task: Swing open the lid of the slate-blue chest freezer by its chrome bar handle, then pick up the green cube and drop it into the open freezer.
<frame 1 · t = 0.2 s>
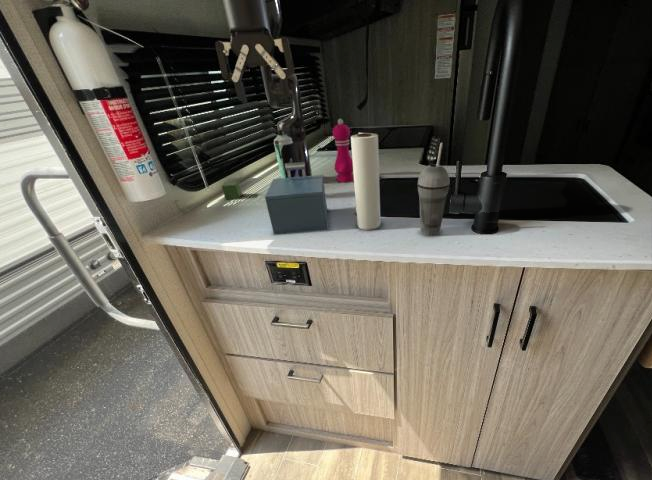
hand: (265, 102, 68), 29 cm above the worktop, tool pointing down, fingers open, 8 cm apart
beverage cup: (430, 232, 78), on the worktop
freezer: (302, 221, 88), on the worktop
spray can: (294, 198, 105), on the worktop
freezer lid: (294, 178, 82), point 11 cm above the worktop, hinge at 0.0°
pepper mill: (345, 180, 119), on the worktop
paper towel roll: (369, 225, 83), on the worktop
green cube: (234, 197, 109), on the worktop
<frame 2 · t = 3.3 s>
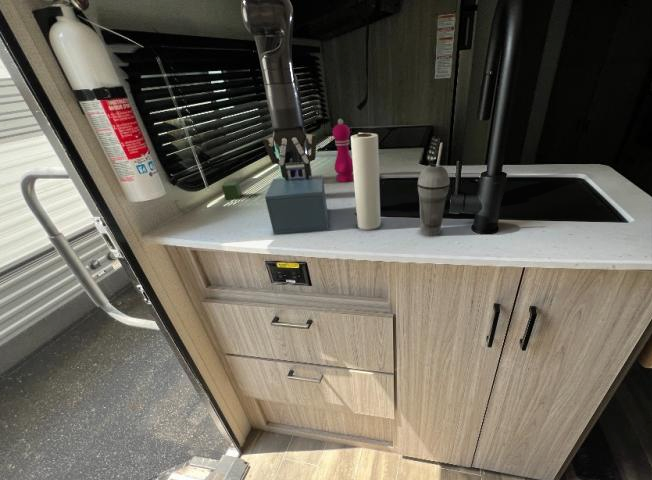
hand: (297, 178, 87), 10 cm above the worktop, tool pointing down, fingers closed on freezer lid, 5 cm apart
freezer lid: (294, 178, 82), point 11 cm above the worktop, hinge at 0.0°, touching gripper
everything else where it was.
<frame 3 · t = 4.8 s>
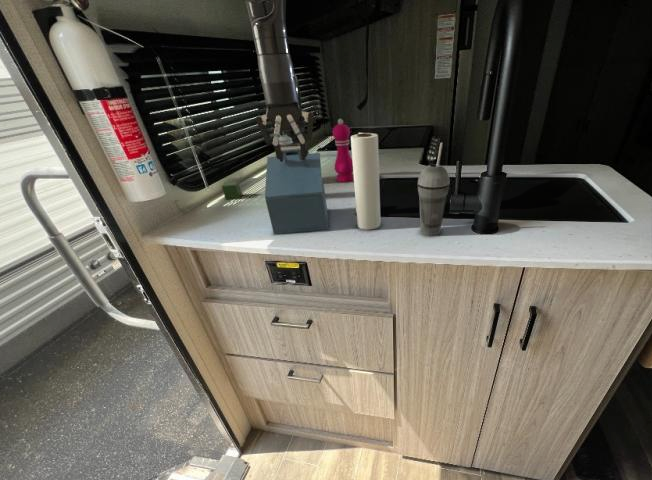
hand: (292, 159, 82), 15 cm above the worktop, tool pointing down, fingers closed on freezer lid, 5 cm apart
freezer lid: (292, 167, 79), point 14 cm above the worktop, hinge at 22.7°, touching gripper
everything else where it was.
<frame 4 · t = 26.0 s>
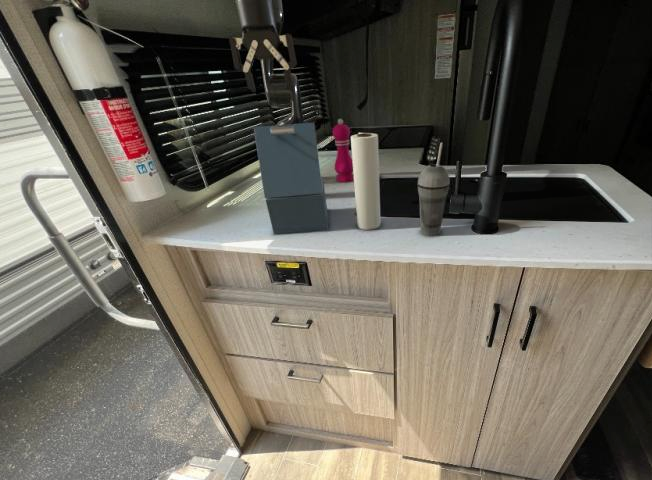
hand: (271, 90, 78), 30 cm above the worktop, tool pointing down, fingers open, 8 cm apart
freezer lid: (287, 159, 73), point 17 cm above the worktop, hinge at 66.4°
green cube: (302, 216, 89), point 1 cm above the worktop, touching freezer
everything else where it was.
at the end: freezer lid at +66° (first picture: +0°); green cube inside the target area in the freezer (1.5 cm from its centre), point 0.9 cm above the freezer's base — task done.
